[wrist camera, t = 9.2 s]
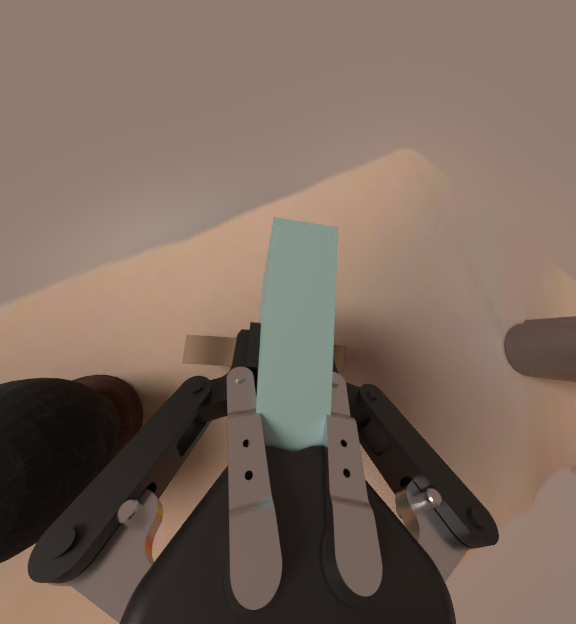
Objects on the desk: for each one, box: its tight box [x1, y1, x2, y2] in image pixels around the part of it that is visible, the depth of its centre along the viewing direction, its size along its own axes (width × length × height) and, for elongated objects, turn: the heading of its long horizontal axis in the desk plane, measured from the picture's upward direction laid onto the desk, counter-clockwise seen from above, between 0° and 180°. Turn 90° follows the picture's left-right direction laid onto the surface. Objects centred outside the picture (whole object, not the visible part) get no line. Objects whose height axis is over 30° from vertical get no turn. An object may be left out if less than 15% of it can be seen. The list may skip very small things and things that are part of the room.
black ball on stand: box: [0, 375, 143, 563], centre depth 19 cm, size 13×13×15 cm
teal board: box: [255, 217, 338, 452], centre depth 15 cm, size 14×3×13 cm, turn 176°
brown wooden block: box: [183, 335, 345, 372], centre depth 27 cm, size 18×3×7 cm, turn 86°
